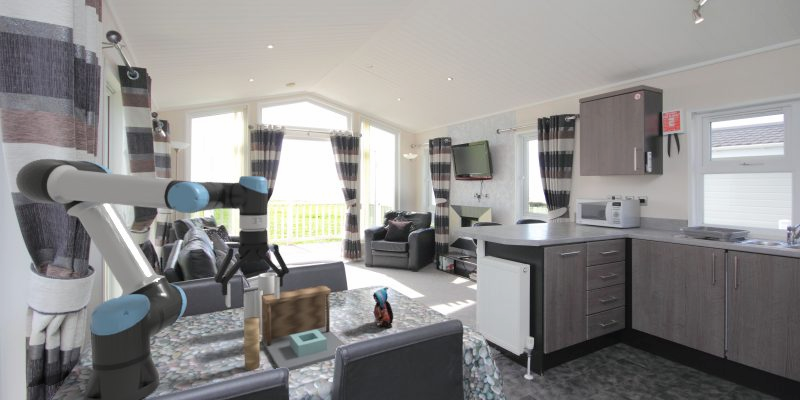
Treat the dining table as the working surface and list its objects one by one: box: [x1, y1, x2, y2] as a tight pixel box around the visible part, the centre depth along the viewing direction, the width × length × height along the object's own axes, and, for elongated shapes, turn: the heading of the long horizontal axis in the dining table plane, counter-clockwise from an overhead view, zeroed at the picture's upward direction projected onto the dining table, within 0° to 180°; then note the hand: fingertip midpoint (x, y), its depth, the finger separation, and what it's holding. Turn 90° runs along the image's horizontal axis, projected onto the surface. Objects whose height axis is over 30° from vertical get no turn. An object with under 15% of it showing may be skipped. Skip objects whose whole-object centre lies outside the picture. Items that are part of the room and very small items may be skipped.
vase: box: [243, 272, 277, 336], centre depth 129 cm, size 11×7×20 cm, turn 123°
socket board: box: [261, 327, 347, 372], centre depth 116 cm, size 22×24×4 cm
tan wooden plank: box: [261, 285, 332, 346], centre depth 123 cm, size 22×6×16 cm, turn 123°
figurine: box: [372, 286, 394, 329], centre depth 134 cm, size 10×7×15 cm
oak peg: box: [243, 317, 261, 371], centre depth 103 cm, size 4×4×14 cm
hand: (253, 301), depth 104 cm, fingers open, 13 cm apart
